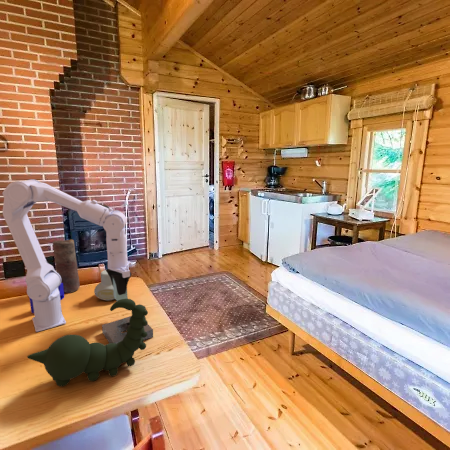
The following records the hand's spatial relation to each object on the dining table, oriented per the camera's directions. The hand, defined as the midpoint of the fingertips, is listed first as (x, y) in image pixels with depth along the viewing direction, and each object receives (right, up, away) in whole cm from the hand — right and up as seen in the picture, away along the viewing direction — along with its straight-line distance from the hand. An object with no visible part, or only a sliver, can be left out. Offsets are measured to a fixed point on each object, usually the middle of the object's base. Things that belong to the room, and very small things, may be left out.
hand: (119, 291), depth 94 cm
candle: (-28, -4, +22) cm, 36 cm away
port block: (+5, -11, -7) cm, 14 cm away
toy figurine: (+2, -15, -23) cm, 28 cm away
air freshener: (-9, -6, +17) cm, 20 cm away
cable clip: (-29, -7, +10) cm, 32 cm away
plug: (0, -2, +1) cm, 2 cm away
